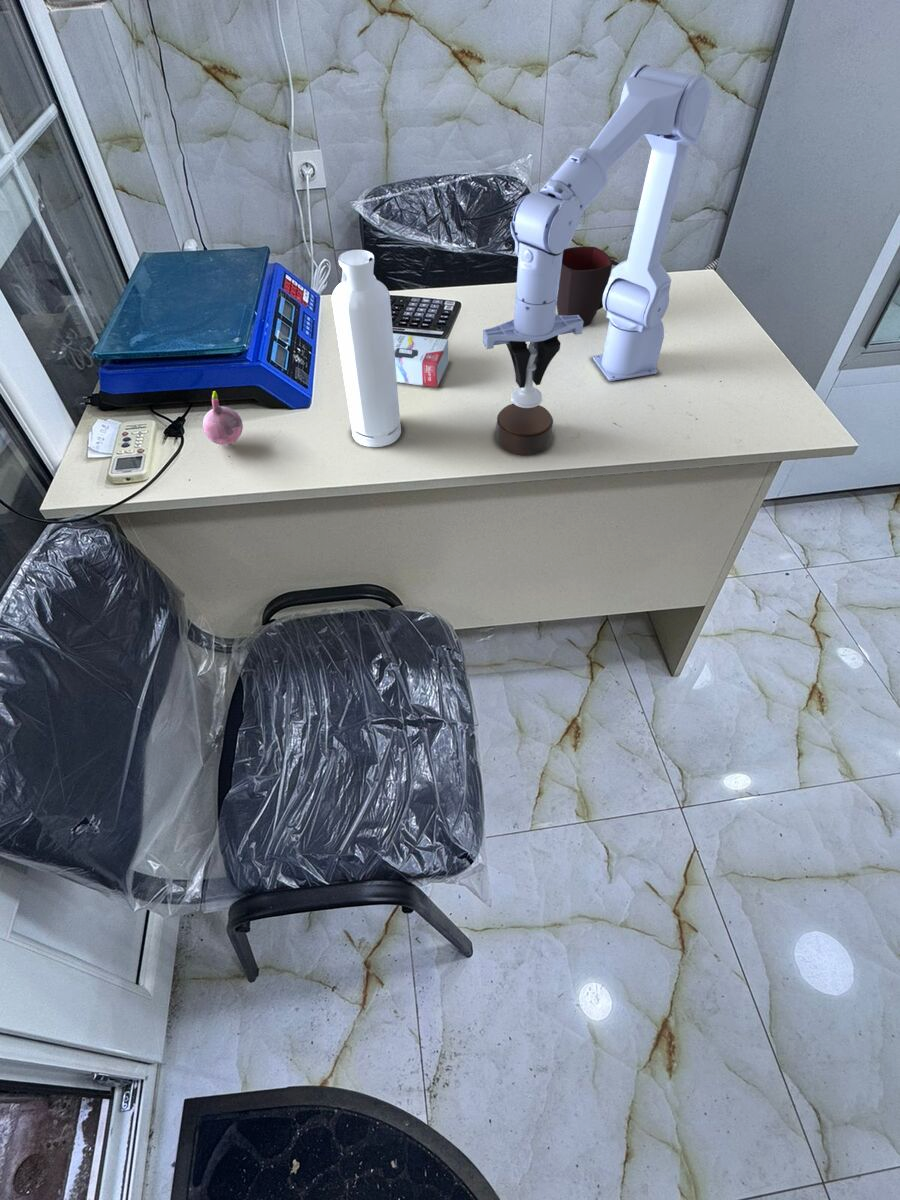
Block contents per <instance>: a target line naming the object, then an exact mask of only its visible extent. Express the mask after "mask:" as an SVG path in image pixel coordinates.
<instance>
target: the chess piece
mask: <svg viewBox="0 0 900 1200" xmlns="http://www.w3.org/2000/svg"><path fill="white" fill-rule="evenodd" d="M534 344H535V342H529V344H528V345H527V348H528V350H529V351H530V353H531V355H530V358H529V361H528V365H527V370H526V383H525V387H524V388H520V387H519V386H517V387H516V388H514V389H513V390H512V391H511V394H510V401H511V404H515V405H516V406H518V407H522V408H533V407H536V406H538V405H541V403H542V402H543V395H542V392H541V391H540V390H539V389H538V388H537V387H534V385H533V383H534V381H533V380H532V371H534V370H535V369H536V368H537V366H536V364H535V363H534V361H535V358H536V356H537V354H538V351H537V350H536V349H534V348H533V345H534Z"/></svg>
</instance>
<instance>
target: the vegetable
mask: <svg viewBox="0 0 900 1200" xmlns="http://www.w3.org/2000/svg"><path fill="white" fill-rule="evenodd" d="M211 404H212V409H210V410H208V411H207V413H205V415H204V417H203V420H202V428H203V431H204V434H205V435H206V437H207V438H208V440H209V441H211V442H212V443H213V444H216V445H219V446H232V445H233V444H235V443H236V442H237V441H238V440H239V439H240V437H241V435H242V433H243V428H244V424H243V419H242V418H241V416H240V414H239V413H238V412H236V411H235V410H234V409H233V408H231V407H227V406H220V402H219V396H218V393H217V392H216V390H214V391H212V395H211Z"/></svg>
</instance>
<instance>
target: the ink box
mask: <svg viewBox="0 0 900 1200" xmlns="http://www.w3.org/2000/svg"><path fill="white" fill-rule="evenodd" d="M393 340H394V353H395V365H396V377H397V383H402V384H410V385H416V386H423V387H430V388H431V387H432V388H438V387H439V386H440V383H441V381H442V379H443V377H444V374H445V372H446V370H447V368H448V365H449V339H444V338H438V337H429V336H421V335H411V334H403V333H396V332H395V333H394V332H393Z"/></svg>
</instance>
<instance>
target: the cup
mask: <svg viewBox="0 0 900 1200" xmlns="http://www.w3.org/2000/svg"><path fill="white" fill-rule="evenodd" d="M618 264H620V263H619V262H618V261H616V260H614V259H612V258H611V257H610V256H609V254H607V252H605V251H604V250H602V249H600V248H598V247H596V246H574V247H567V248H565V250H564V251H563V257H562V265H561V273H560V281H559V289H558V298H557V305H556V312H557V315H559V316H572V315H579V316H580V318H581V319H582V320H583V321H584V322H583V328H584V327H586V326H589V325H591V323H592V322H593V320H594V318H595V316H596V315H597V313H598V311H599V310H601V309H602V308H603V302H602V299H603V293H604V290H605V288H606V286H607V284H608V281H609V279H610V275H611V272H612V269H613V268H612V267H613V266H617V265H618Z"/></svg>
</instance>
